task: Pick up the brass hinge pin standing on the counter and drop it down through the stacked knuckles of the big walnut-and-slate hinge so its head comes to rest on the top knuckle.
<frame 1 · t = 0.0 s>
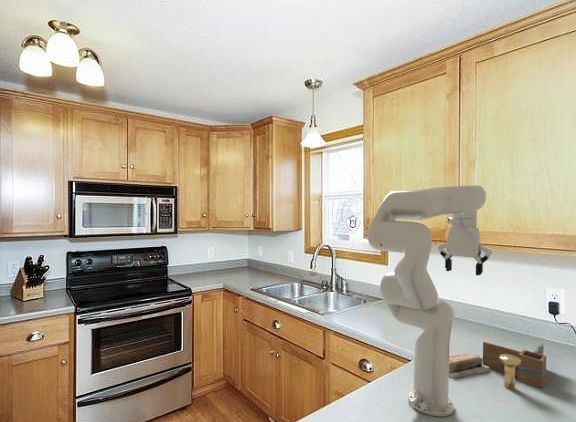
hand: (463, 272, 116), 37 cm above the worktop, tool pointing down, fingers open, 9 cm apart
hinge: (532, 381, 115), on the worktop
hinge pin: (509, 387, 111), on the worktop
packaged product: (460, 370, 124), on the worktop
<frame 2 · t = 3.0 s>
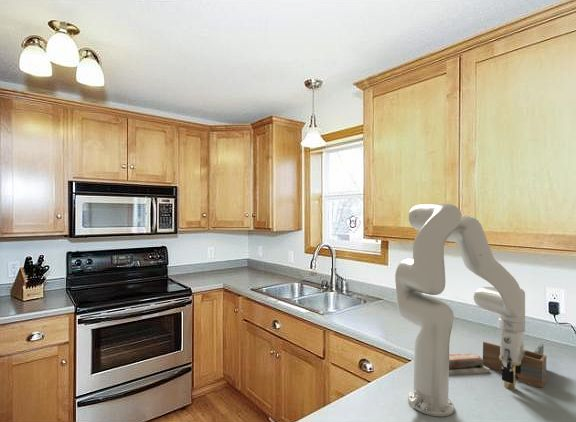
hand: (511, 376, 111), 3 cm above the worktop, tool pointing down, fingers open, 8 cm apart
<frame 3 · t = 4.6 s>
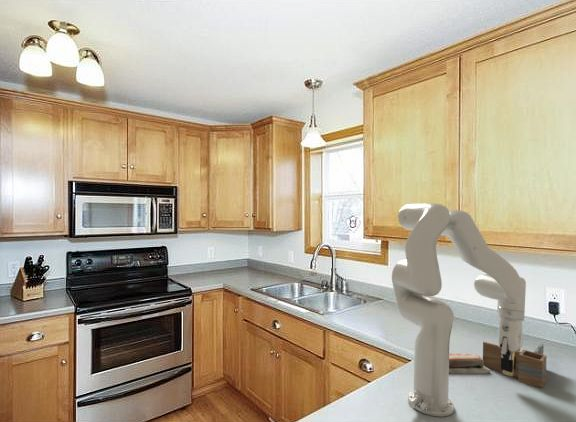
hand: (508, 368, 110), 6 cm above the worktop, tool pointing down, fingers closed on hinge pin, 3 cm apart
hinge pin: (508, 373, 110), point 5 cm above the worktop, touching gripper
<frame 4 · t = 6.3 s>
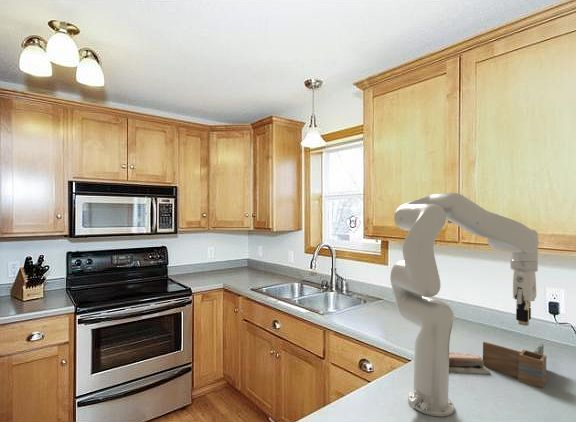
hand: (523, 319, 113), 22 cm above the worktop, tool pointing down, fingers closed on hinge pin, 3 cm apart
hinge pin: (523, 324, 113), point 20 cm above the worktop, touching gripper
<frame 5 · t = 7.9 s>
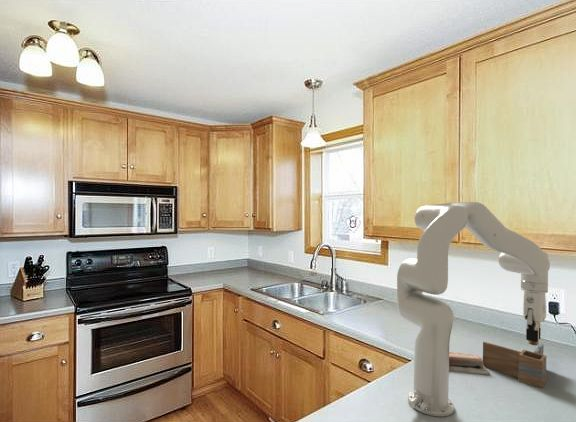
hand: (533, 339, 115), 15 cm above the worktop, tool pointing down, fingers closed on hinge pin, 3 cm apart
hinge pin: (533, 343, 115), point 13 cm above the worktop, touching gripper
when the fingers open (12 cm above the worktop, at t = 9.1 s): hinge pin drops 10 cm, resting on hinge.
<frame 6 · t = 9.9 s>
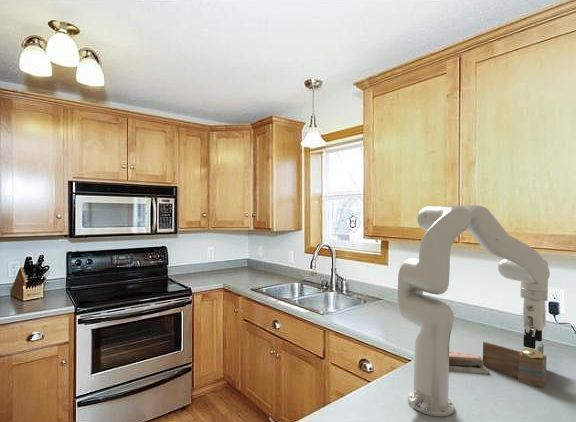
hand: (532, 343, 115), 13 cm above the worktop, tool pointing down, fingers open, 9 cm apart
hinge pin: (531, 380, 115), resting on hinge
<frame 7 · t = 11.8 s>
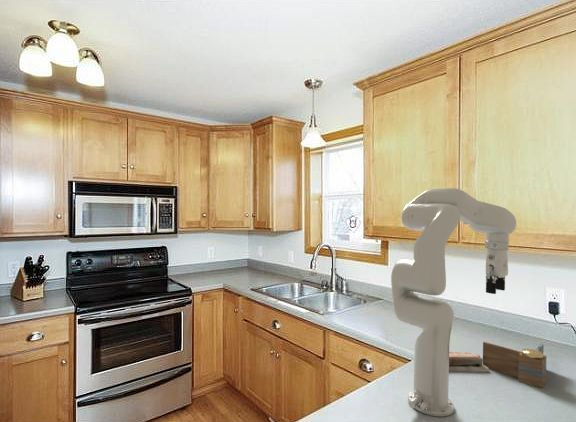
hand: (495, 291, 126), 28 cm above the worktop, tool pointing down, fingers open, 9 cm apart
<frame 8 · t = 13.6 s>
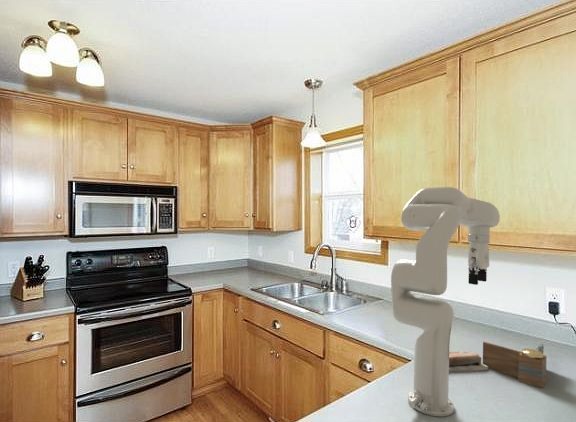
hand: (477, 282, 132), 30 cm above the worktop, tool pointing down, fingers open, 9 cm apart
at the end: hinge pin 0.3 cm off-centre on the hinge, point 0.4 cm above the hinge's base; hinge pin tilted 0°; the gripper is holding nothing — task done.
